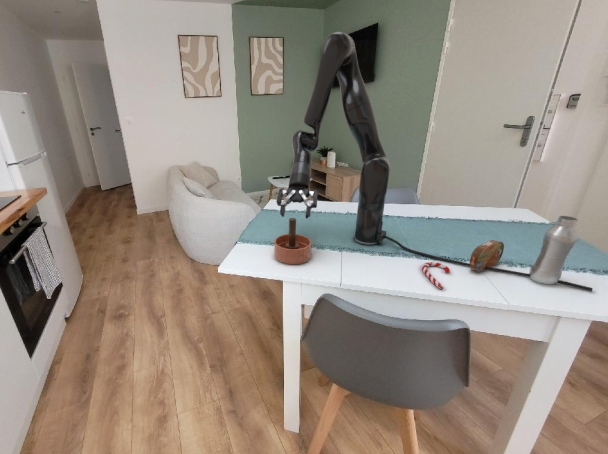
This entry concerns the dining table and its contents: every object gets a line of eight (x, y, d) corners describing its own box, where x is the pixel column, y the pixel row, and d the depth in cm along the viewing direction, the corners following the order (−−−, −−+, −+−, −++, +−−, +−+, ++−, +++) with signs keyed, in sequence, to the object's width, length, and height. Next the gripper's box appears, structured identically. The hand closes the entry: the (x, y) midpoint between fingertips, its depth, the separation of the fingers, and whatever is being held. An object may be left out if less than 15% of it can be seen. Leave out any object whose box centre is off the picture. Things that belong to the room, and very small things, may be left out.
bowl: (312, 250, 110) (313, 235, 108) (307, 267, 99) (308, 251, 96) (278, 246, 114) (278, 232, 112) (270, 262, 103) (270, 247, 101)
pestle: (299, 252, 108) (300, 217, 102) (297, 258, 104) (298, 222, 98) (286, 250, 109) (287, 216, 104) (284, 256, 105) (284, 221, 100)
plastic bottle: (520, 276, 89) (544, 214, 81) (541, 274, 89) (566, 213, 81) (542, 288, 83) (569, 223, 75) (564, 286, 83) (593, 221, 75)
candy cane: (428, 284, 85) (420, 259, 98) (427, 287, 85) (419, 263, 98) (459, 288, 82) (447, 263, 95) (458, 292, 83) (446, 266, 95)
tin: (475, 275, 90) (482, 251, 87) (464, 271, 92) (471, 247, 89) (500, 262, 96) (508, 239, 93) (489, 258, 99) (497, 236, 95)
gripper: (279, 171, 106) (272, 211, 101) (319, 171, 102) (314, 213, 96) (283, 181, 113) (276, 219, 108) (320, 182, 109) (315, 222, 103)
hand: (294, 216), depth 102 cm, fingers open, 8 cm apart
